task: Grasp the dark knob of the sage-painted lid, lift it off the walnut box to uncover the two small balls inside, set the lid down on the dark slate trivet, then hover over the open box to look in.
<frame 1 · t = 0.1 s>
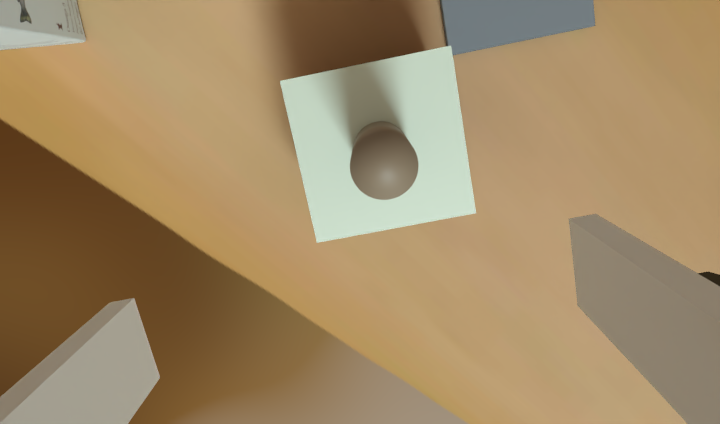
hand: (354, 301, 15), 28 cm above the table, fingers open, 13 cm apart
lid: (380, 146, 35), point 7 cm above the table, touching box
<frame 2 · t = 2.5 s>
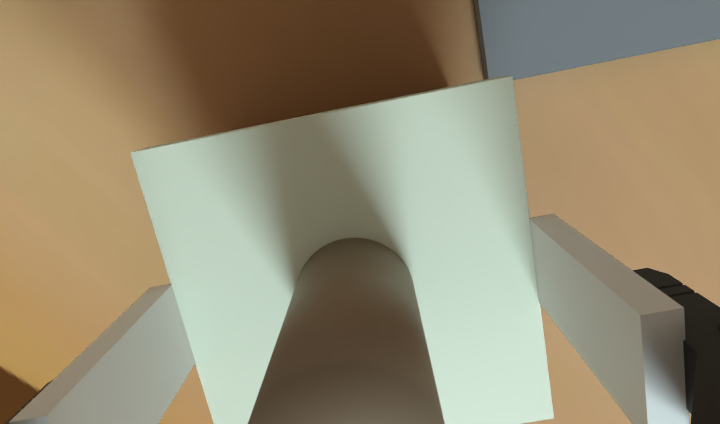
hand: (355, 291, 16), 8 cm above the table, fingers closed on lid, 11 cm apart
lid: (356, 279, 17), point 7 cm above the table, touching box, gripper
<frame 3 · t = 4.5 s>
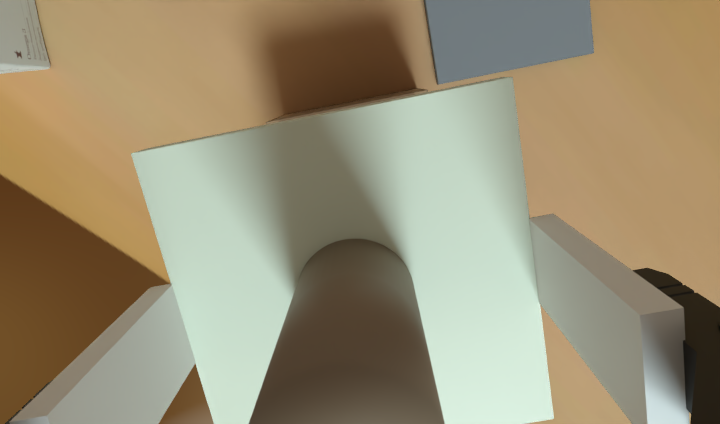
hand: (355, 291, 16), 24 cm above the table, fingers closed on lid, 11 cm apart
box: (362, 167, 39), on the table
lid: (356, 279, 17), point 23 cm above the table, touching gripper
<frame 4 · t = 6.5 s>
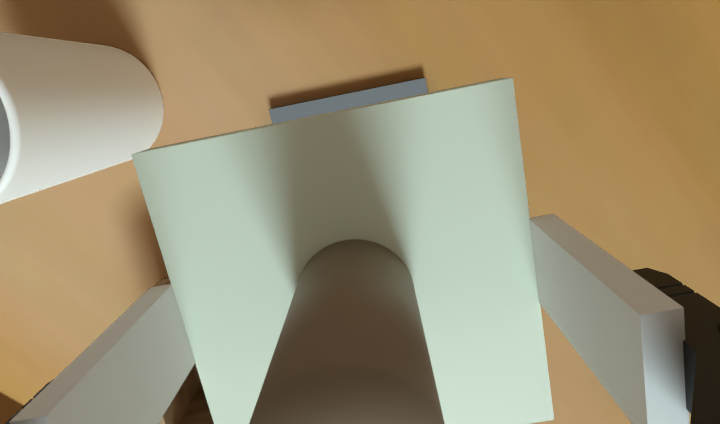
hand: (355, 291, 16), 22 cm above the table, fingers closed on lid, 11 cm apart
trivet: (361, 169, 38), on the table
cup: (107, 105, 37), on the table
box: (239, 326, 41), on the table
lid: (356, 280, 17), point 21 cm above the table, touching gripper
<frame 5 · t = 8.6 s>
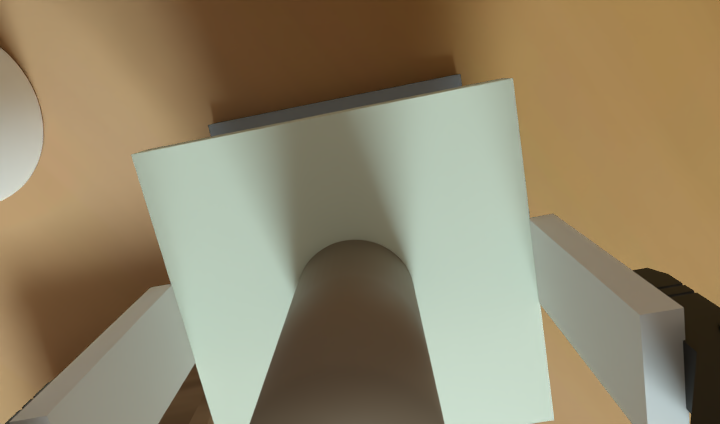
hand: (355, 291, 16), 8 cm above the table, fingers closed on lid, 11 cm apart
trivet: (357, 217, 24), on the table
lid: (356, 280, 17), point 7 cm above the table, touching gripper
when the fingers open (3 cm above the table, at t = 10.4 s): lid drops 2 cm, resting on trivet.
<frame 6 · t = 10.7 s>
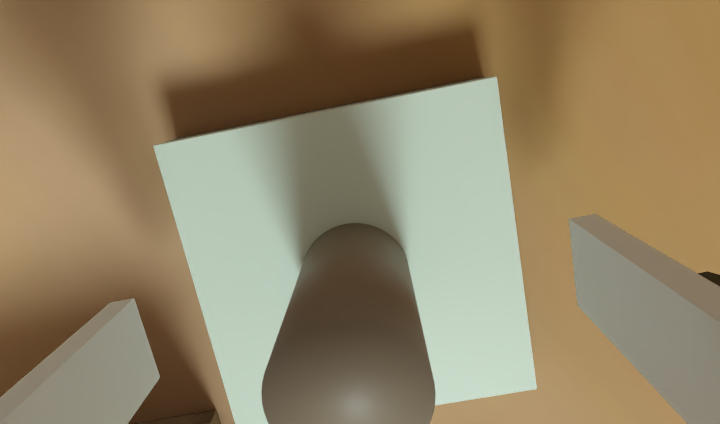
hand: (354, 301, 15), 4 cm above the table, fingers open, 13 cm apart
lid: (356, 262, 19), point 1 cm above the table, touching trivet
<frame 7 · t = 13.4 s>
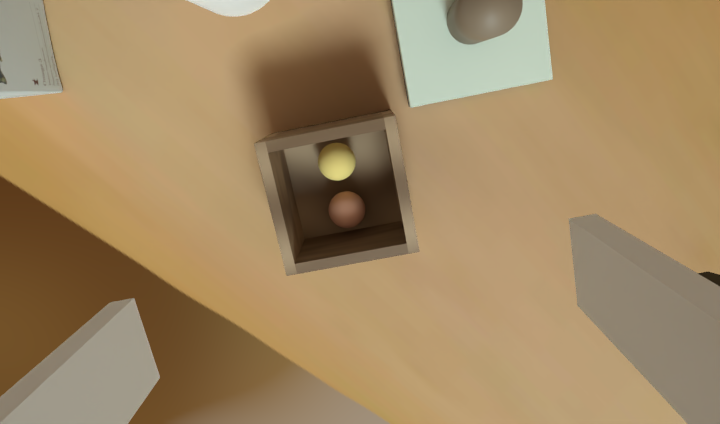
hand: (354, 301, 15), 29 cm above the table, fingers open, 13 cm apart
ball b: (346, 209, 42), point 2 cm above the table, touching box
supplement box: (13, 50, 42), on the table
box: (343, 180, 44), on the table
lid: (467, 21, 40), point 1 cm above the table, touching trivet
ball a: (336, 161, 41), point 2 cm above the table, touching box
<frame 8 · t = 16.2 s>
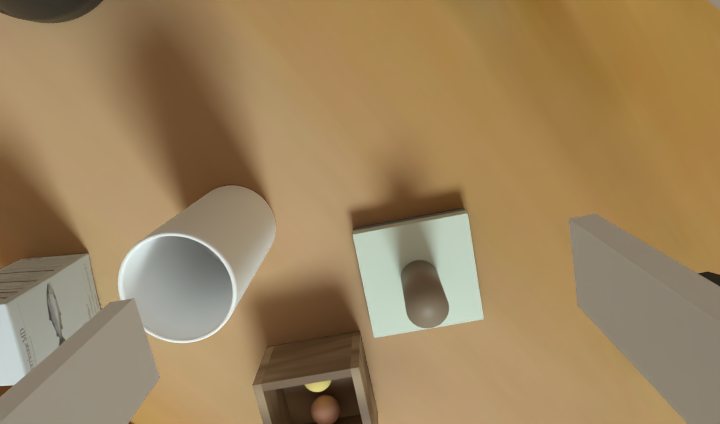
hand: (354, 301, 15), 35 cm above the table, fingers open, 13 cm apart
ball b: (325, 410, 53), point 2 cm above the table, touching box
cup: (235, 225, 51), on the table
supplement box: (64, 286, 53), on the table
box: (323, 380, 55), on the table
lid: (418, 273, 51), point 1 cm above the table, touching trivet
ball a: (317, 376, 52), point 2 cm above the table, touching box
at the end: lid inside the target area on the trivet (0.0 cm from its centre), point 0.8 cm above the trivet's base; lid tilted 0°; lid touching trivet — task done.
